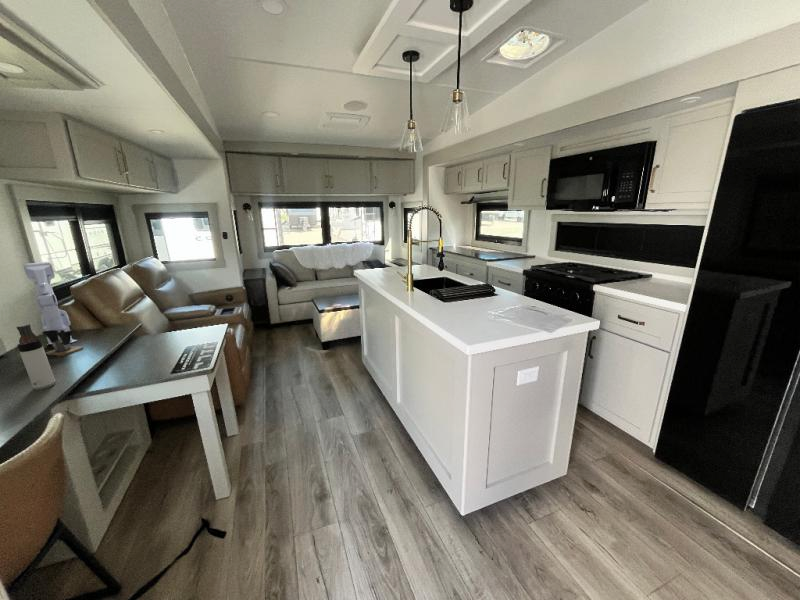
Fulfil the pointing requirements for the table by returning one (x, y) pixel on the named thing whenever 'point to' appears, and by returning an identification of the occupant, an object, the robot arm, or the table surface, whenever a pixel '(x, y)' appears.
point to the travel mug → (36, 364)
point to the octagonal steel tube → (60, 346)
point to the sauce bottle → (26, 333)
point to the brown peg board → (73, 349)
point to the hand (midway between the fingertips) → (61, 343)
